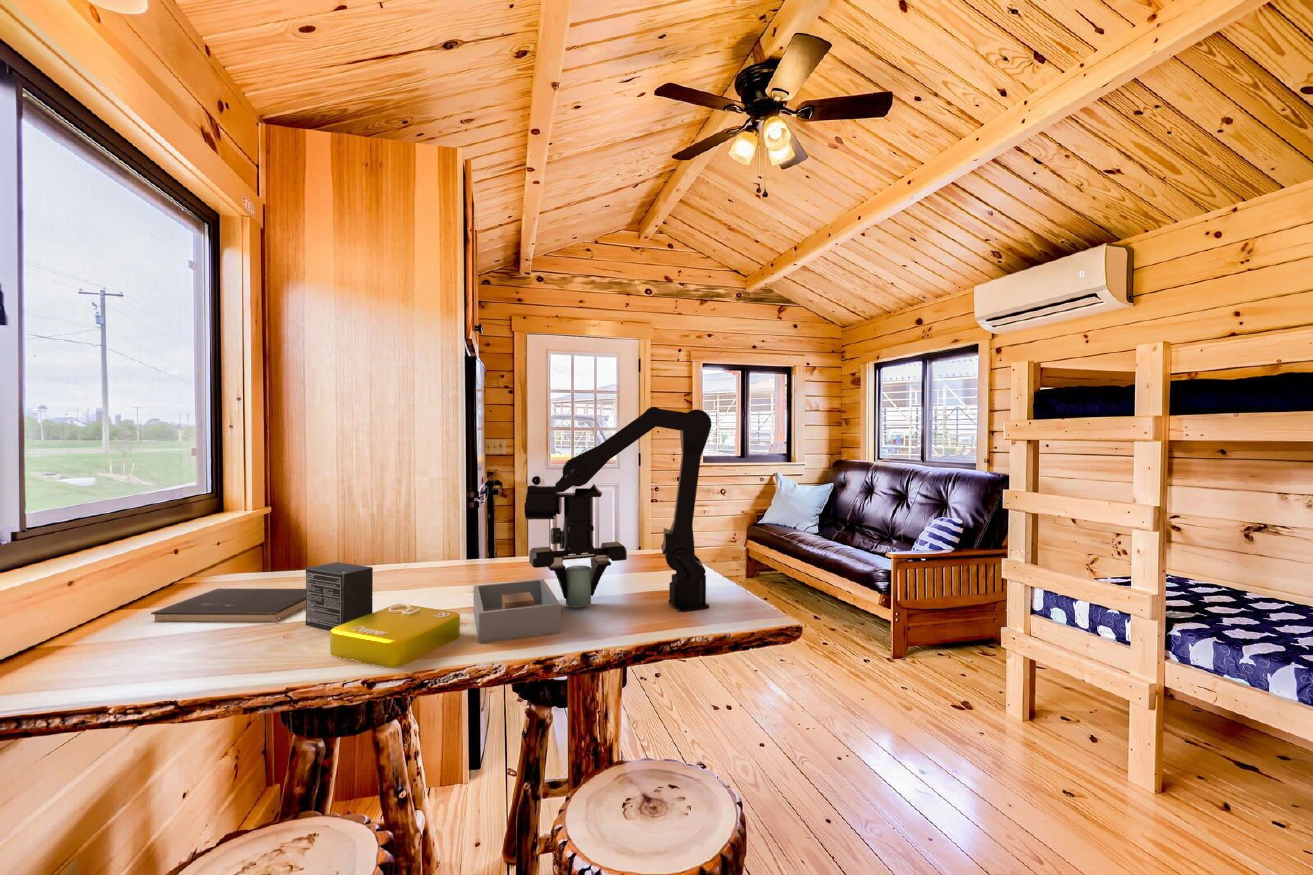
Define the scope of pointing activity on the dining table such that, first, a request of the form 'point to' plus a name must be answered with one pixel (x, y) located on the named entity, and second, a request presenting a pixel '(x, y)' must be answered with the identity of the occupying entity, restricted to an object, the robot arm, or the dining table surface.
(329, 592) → the small box
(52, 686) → the dining table surface
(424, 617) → the element tile
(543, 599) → the tote
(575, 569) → the teal cylinder
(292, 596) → the hardcover book
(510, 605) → the walnut cube
